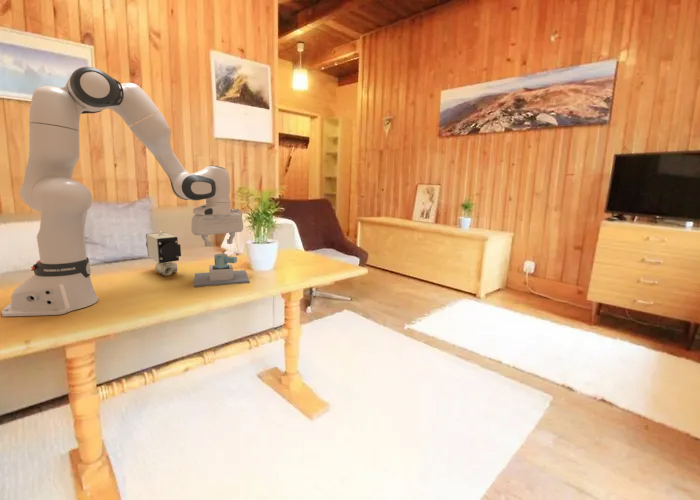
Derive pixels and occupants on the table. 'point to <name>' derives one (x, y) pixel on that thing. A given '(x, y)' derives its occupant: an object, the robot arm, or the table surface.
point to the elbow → (223, 261)
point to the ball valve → (163, 251)
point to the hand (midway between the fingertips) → (219, 244)
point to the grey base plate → (220, 277)
